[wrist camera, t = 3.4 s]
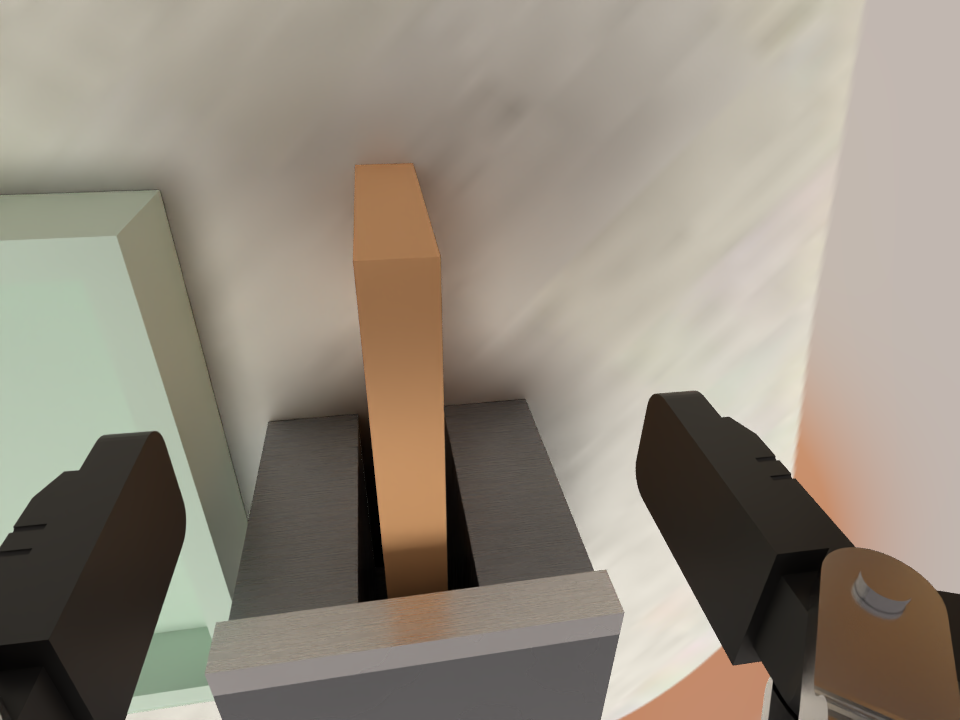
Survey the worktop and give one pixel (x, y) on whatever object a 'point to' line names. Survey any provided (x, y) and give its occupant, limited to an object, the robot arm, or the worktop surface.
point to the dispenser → (420, 618)
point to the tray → (117, 395)
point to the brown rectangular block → (403, 372)
